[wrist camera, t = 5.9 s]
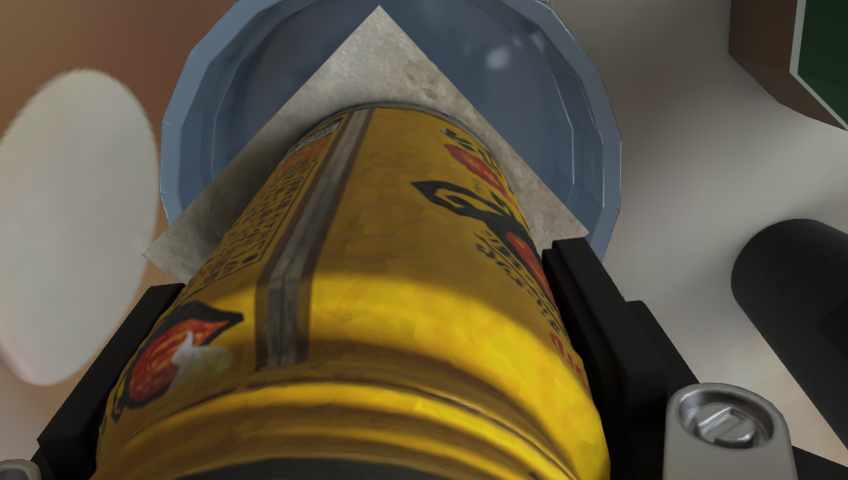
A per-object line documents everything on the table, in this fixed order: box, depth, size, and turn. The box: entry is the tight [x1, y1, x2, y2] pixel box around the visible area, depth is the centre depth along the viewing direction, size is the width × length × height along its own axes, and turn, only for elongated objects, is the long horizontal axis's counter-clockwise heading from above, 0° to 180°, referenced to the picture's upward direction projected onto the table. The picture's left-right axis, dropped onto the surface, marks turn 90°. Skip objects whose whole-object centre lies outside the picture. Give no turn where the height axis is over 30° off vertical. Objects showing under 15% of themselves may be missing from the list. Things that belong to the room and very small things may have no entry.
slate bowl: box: [159, 0, 622, 262], centre depth 22 cm, size 14×14×5 cm
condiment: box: [89, 5, 611, 480], centre depth 10 cm, size 7×8×12 cm
